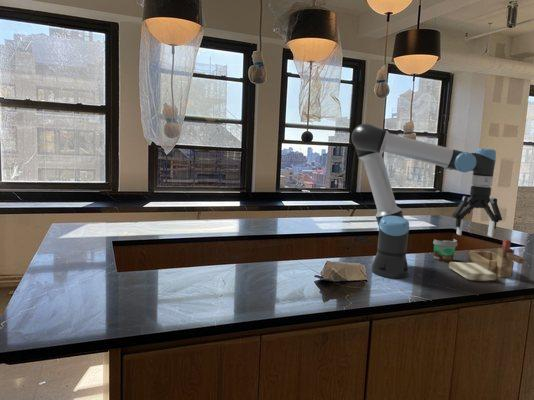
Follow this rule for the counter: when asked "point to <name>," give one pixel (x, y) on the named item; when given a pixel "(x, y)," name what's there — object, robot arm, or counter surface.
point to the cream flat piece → (472, 271)
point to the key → (510, 255)
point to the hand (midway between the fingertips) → (474, 235)
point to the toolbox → (493, 261)
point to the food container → (444, 250)
